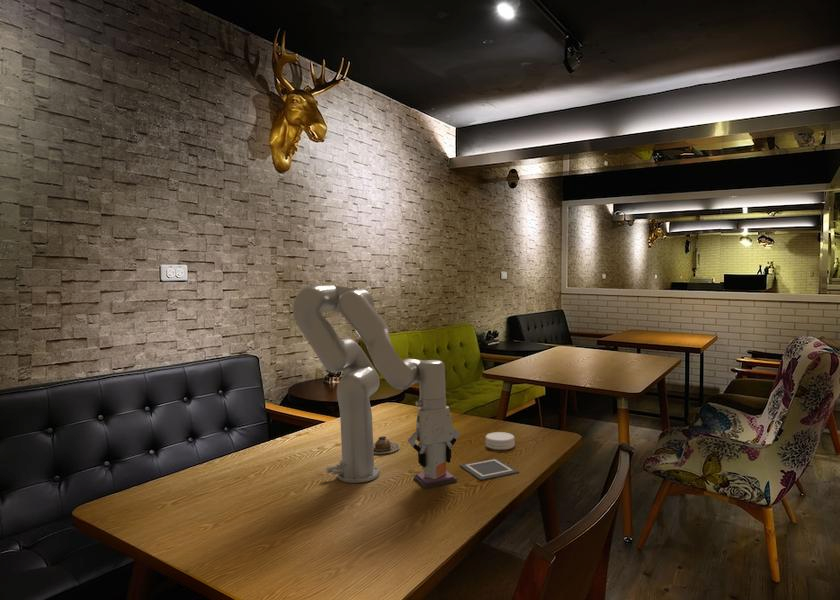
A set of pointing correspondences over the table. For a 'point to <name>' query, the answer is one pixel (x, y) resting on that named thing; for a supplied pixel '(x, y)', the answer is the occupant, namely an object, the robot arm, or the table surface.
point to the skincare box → (435, 460)
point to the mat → (489, 469)
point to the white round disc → (500, 440)
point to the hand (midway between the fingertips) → (435, 463)
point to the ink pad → (434, 480)
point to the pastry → (384, 445)
